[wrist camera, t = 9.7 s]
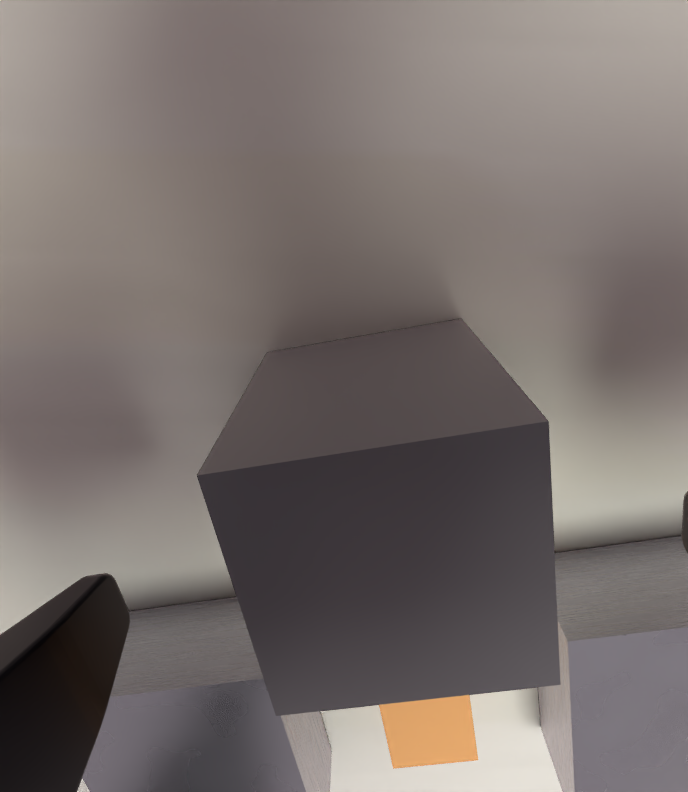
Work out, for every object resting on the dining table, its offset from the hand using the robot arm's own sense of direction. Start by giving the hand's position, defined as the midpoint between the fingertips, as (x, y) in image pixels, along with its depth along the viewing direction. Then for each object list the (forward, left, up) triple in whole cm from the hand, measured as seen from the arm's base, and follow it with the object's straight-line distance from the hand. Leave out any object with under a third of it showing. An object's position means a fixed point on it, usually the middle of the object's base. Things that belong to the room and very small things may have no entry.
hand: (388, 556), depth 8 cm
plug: (-2, 0, -4) cm, 4 cm away
